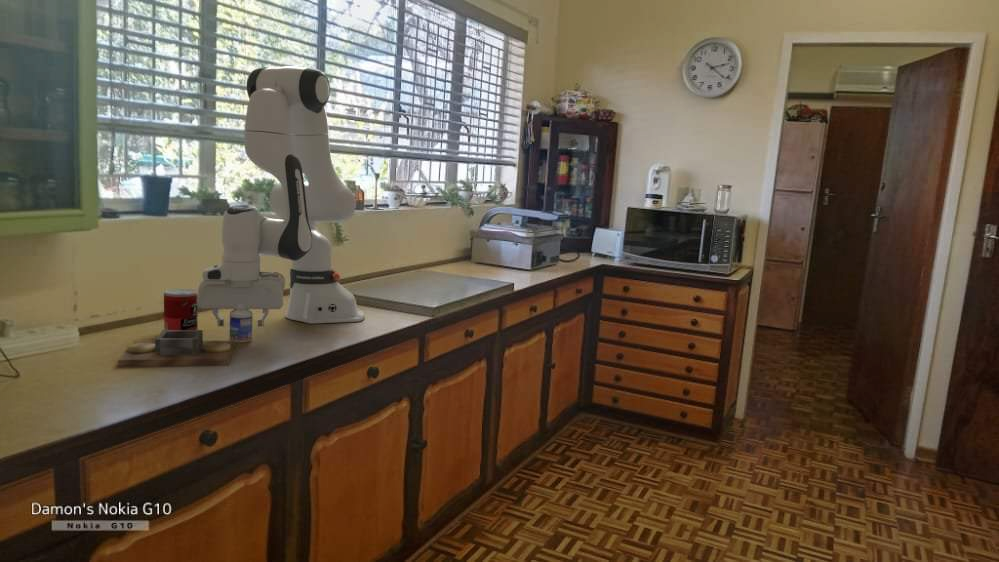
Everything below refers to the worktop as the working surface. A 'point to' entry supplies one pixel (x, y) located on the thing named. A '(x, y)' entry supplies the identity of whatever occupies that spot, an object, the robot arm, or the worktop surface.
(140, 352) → the board
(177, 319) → the canned food
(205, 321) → the worktop surface
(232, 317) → the pill bottle
